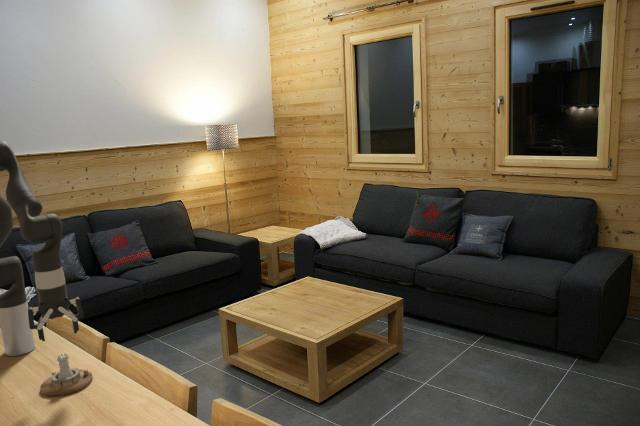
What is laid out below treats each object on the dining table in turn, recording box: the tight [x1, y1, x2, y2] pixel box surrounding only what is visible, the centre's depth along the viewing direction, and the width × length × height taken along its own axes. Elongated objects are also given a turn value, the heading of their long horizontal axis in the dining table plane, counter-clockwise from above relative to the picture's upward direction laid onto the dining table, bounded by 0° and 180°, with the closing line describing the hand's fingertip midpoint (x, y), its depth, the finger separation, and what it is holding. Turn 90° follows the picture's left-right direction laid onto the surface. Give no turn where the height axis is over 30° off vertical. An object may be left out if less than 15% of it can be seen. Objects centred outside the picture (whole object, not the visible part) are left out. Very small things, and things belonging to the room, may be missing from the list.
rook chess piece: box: [56, 353, 74, 379], centre depth 159 cm, size 4×4×8 cm
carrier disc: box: [39, 367, 93, 398], centre depth 160 cm, size 14×14×3 cm
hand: (59, 336), depth 158 cm, fingers open, 8 cm apart
